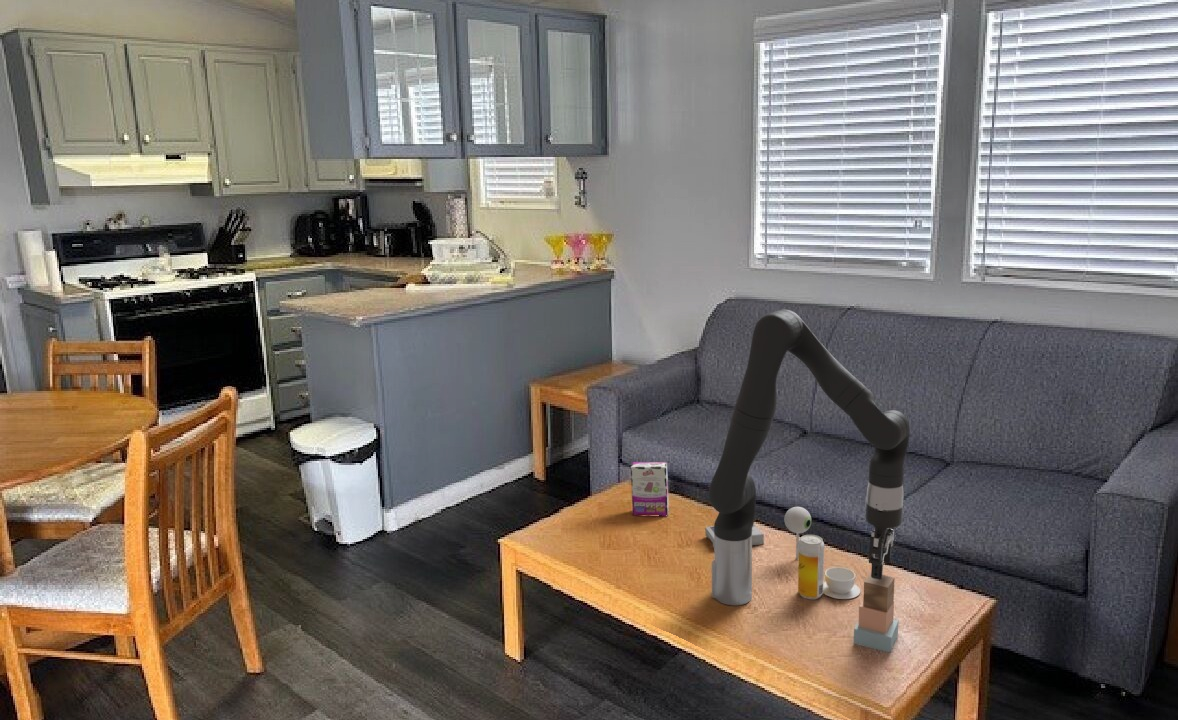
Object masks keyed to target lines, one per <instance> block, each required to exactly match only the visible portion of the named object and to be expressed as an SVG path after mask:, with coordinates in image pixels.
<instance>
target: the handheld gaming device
mask: <svg viewBox="0 0 1178 720" xmlns="http://www.w3.org/2000/svg"><path fill="white" fill-rule="evenodd" d="M704 535H705V537H706V539H709V540H710V541H711V543H712V547H713V548H714V525H713V526H712V525H711V526H705V534H704ZM764 543H765V535H764V533H763V531H761V529H760V528H759V527H758V526H757V525H755V524H753V527H752V546H757V545H764Z"/></svg>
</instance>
